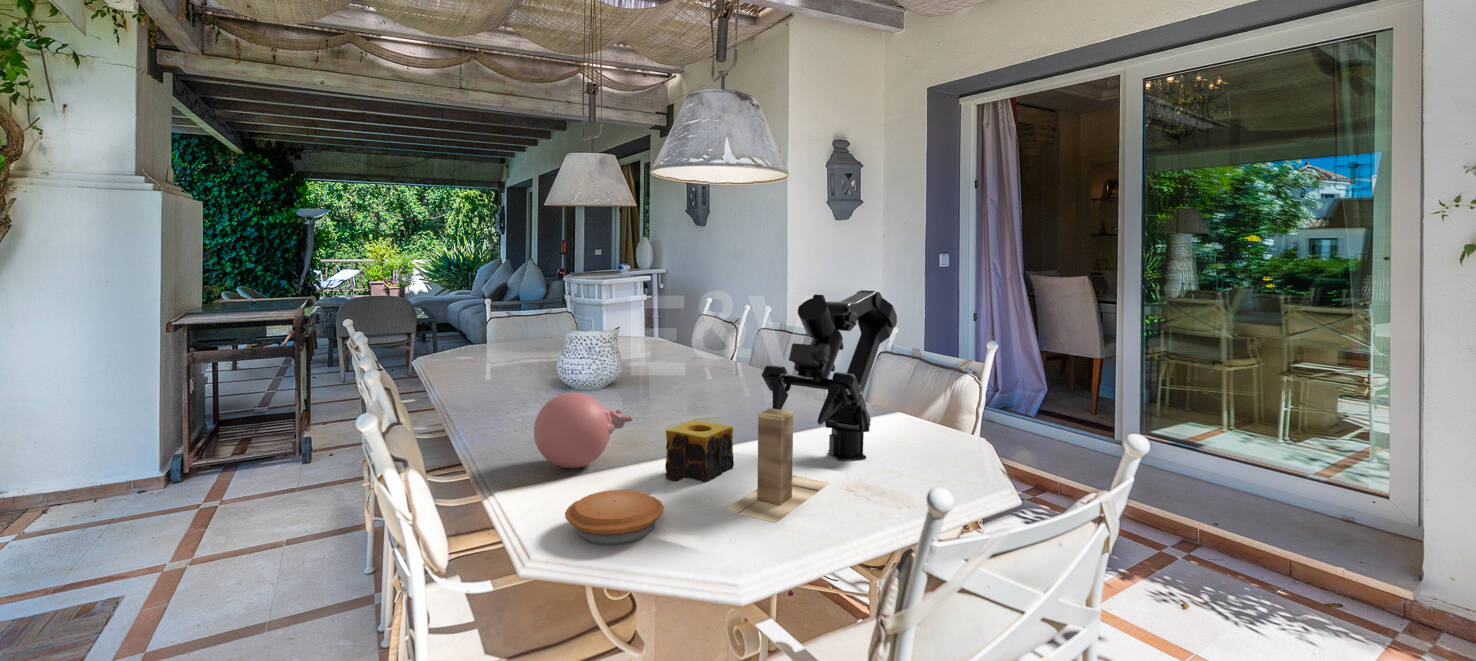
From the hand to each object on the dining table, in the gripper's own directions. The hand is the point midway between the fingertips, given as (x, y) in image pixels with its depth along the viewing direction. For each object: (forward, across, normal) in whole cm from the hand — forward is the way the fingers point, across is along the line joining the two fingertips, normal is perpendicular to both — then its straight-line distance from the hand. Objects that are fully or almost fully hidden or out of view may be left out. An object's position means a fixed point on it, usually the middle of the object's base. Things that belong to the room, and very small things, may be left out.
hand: (796, 420), depth 124 cm
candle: (+12, -20, +8) cm, 24 cm away
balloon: (+16, -44, +3) cm, 47 cm away
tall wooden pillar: (+14, 0, +3) cm, 15 cm away
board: (+14, 0, +6) cm, 15 cm away
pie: (+32, -17, -11) cm, 38 cm away
